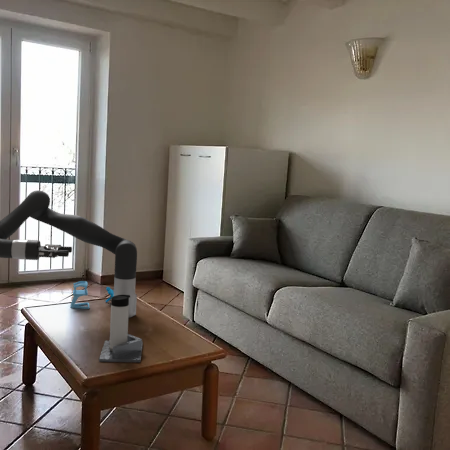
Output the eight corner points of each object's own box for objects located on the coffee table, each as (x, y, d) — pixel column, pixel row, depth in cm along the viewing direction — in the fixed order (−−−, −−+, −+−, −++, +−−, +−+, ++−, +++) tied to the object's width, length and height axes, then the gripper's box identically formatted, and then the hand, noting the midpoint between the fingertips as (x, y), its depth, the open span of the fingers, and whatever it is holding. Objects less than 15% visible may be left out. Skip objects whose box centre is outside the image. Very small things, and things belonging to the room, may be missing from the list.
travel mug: (128, 352, 184) (131, 297, 182) (109, 353, 183) (112, 297, 180) (126, 346, 190) (129, 293, 188) (108, 346, 188) (110, 293, 186)
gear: (120, 302, 243) (106, 286, 243) (110, 311, 243) (96, 295, 243) (124, 299, 254) (110, 284, 254) (115, 307, 254) (101, 292, 254)
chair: (70, 304, 241) (70, 279, 239) (88, 304, 243) (89, 279, 241) (70, 309, 233) (70, 283, 232) (89, 309, 236) (90, 283, 234)
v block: (98, 361, 177) (99, 347, 176) (105, 343, 195) (105, 330, 194) (140, 362, 179) (140, 348, 178) (142, 343, 196) (143, 331, 196)
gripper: (22, 243, 189) (67, 245, 192) (30, 237, 203) (73, 239, 206) (21, 263, 190) (67, 265, 193) (29, 255, 204) (72, 257, 207)
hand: (70, 251), depth 199 cm, fingers open, 8 cm apart
